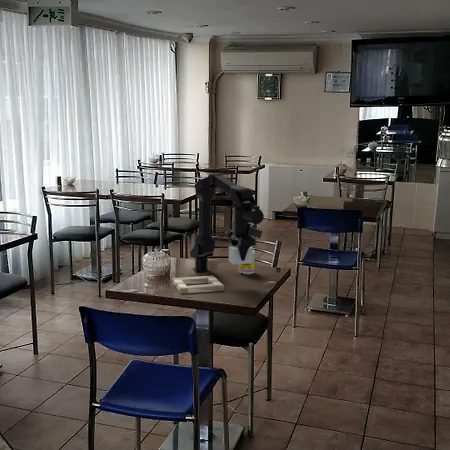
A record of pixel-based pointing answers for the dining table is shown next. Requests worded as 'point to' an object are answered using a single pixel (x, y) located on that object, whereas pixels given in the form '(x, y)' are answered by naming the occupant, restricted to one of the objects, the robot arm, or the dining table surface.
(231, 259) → the grey-blue cabinet box
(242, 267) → the supplement bottle
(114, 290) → the dining table surface
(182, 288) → the birch pocket board
